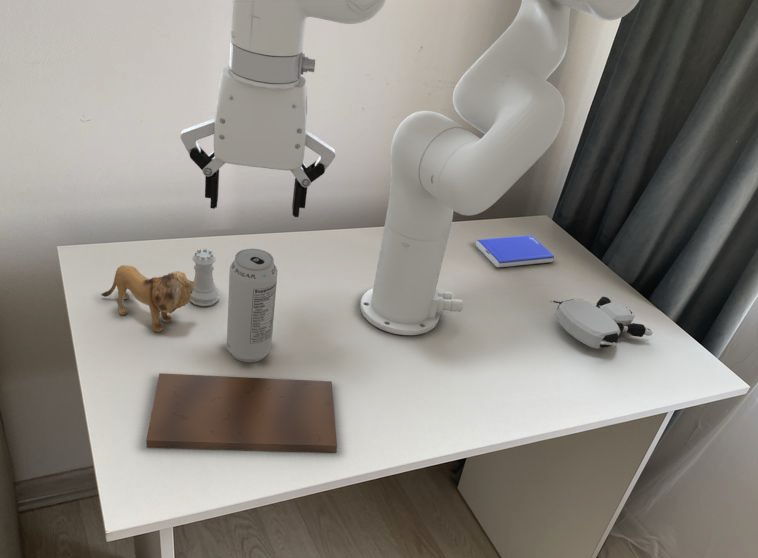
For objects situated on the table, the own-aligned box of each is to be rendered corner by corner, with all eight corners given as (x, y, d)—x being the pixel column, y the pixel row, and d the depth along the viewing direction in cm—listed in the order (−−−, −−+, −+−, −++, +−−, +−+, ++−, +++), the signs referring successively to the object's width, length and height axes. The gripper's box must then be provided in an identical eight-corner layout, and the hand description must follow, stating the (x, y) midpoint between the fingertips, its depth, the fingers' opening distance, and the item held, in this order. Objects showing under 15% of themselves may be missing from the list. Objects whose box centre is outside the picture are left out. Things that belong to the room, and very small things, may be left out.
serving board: (330, 387, 98) (331, 381, 98) (336, 452, 89) (337, 445, 88) (159, 380, 94) (159, 373, 93) (146, 447, 84) (146, 440, 84)
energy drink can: (248, 332, 105) (253, 241, 96) (279, 352, 103) (288, 260, 94) (217, 350, 100) (219, 256, 92) (249, 370, 98) (255, 276, 89)
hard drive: (530, 234, 143) (477, 238, 137) (554, 255, 137) (499, 261, 132) (528, 241, 143) (475, 245, 138) (552, 262, 138) (497, 268, 133)
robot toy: (598, 308, 129) (538, 319, 121) (608, 286, 127) (547, 296, 118) (650, 348, 122) (589, 363, 113) (661, 326, 119) (601, 339, 111)
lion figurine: (201, 323, 105) (201, 269, 99) (179, 342, 100) (179, 287, 95) (113, 290, 107) (109, 236, 102) (88, 307, 103) (83, 252, 98)
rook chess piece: (222, 294, 111) (224, 248, 106) (213, 310, 108) (214, 263, 103) (193, 288, 111) (193, 242, 106) (183, 304, 107) (183, 257, 103)
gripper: (343, 64, 83) (325, 201, 93) (185, 40, 79) (183, 186, 89) (348, 86, 77) (328, 230, 87) (177, 61, 73) (177, 214, 83)
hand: (255, 207), depth 88 cm, fingers open, 9 cm apart
